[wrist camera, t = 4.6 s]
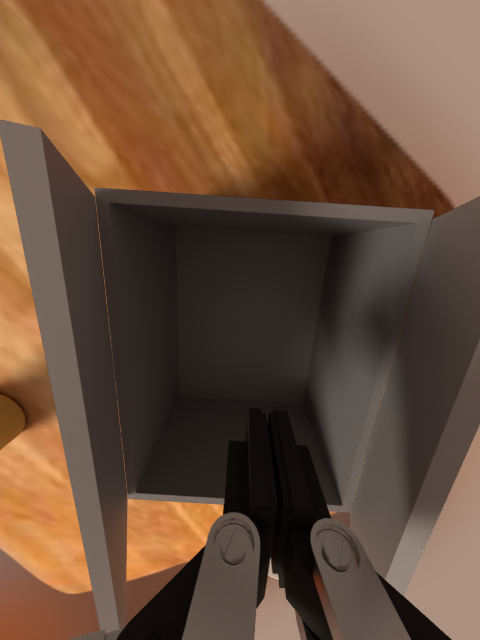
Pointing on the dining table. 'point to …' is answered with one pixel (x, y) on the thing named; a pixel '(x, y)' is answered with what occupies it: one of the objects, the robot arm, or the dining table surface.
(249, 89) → the dining table surface
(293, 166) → the dining table surface
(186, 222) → the carton
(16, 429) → the paper tube
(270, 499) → the robot arm
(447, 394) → the flap
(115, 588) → the flap
